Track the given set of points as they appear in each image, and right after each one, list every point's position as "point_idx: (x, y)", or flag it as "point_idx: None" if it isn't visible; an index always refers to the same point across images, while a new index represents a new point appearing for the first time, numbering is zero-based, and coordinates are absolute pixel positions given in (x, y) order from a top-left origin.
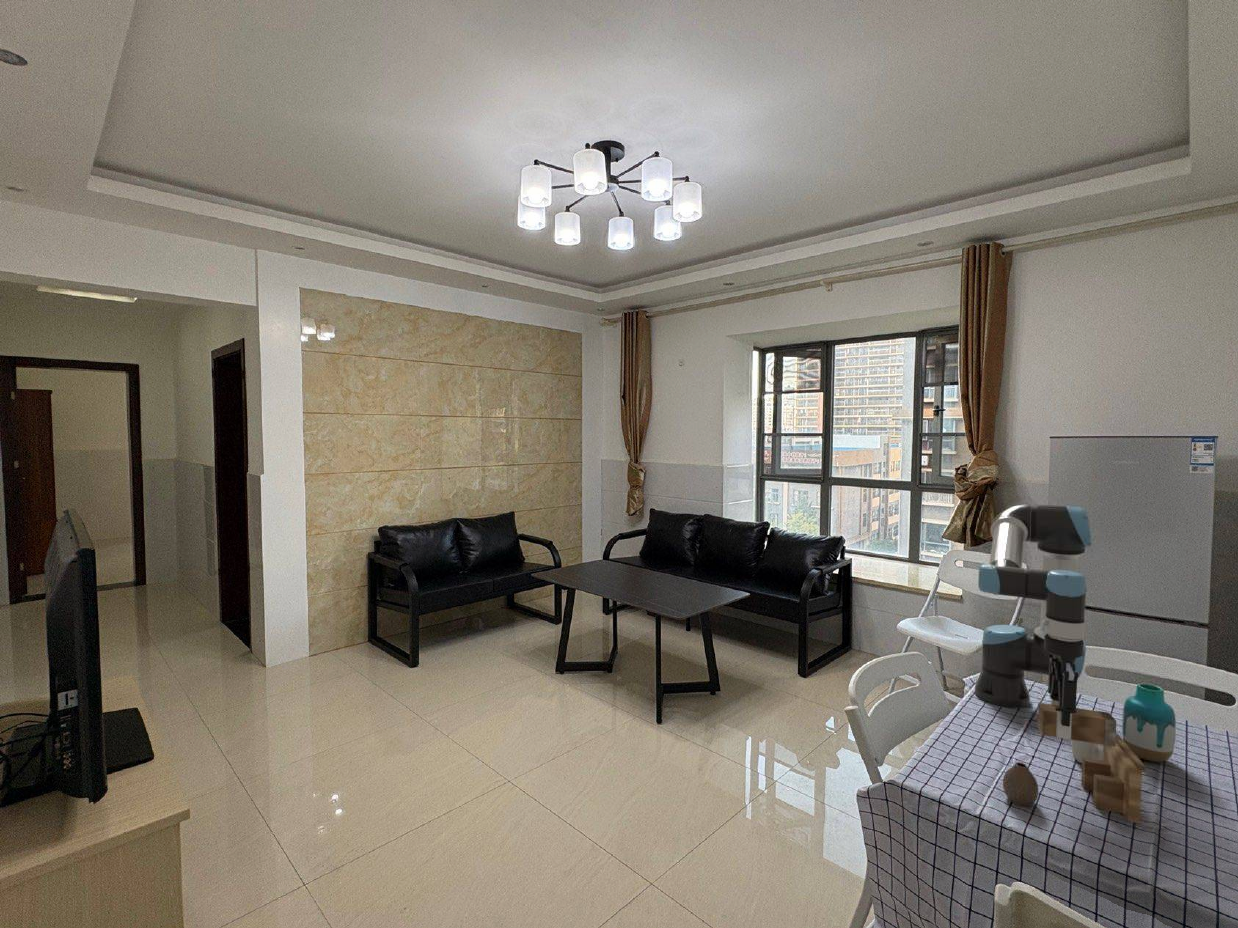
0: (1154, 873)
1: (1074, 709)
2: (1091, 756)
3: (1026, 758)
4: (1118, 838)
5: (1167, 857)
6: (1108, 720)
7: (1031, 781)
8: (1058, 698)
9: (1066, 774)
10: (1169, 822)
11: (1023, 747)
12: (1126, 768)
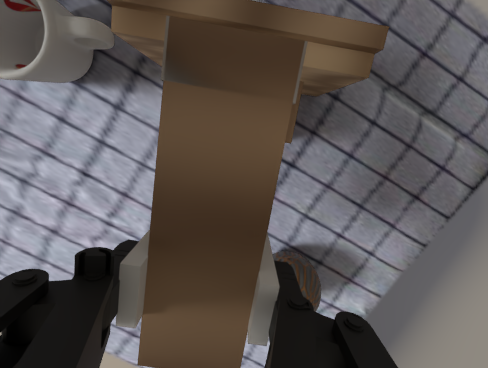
0: (469, 140)
1: (375, 344)
2: (83, 52)
3: (101, 192)
4: (376, 148)
5: (424, 88)
6: (297, 88)
7: (316, 289)
8: (111, 303)
9: (150, 134)
10: (305, 5)
11: (45, 178)
12: (328, 74)
